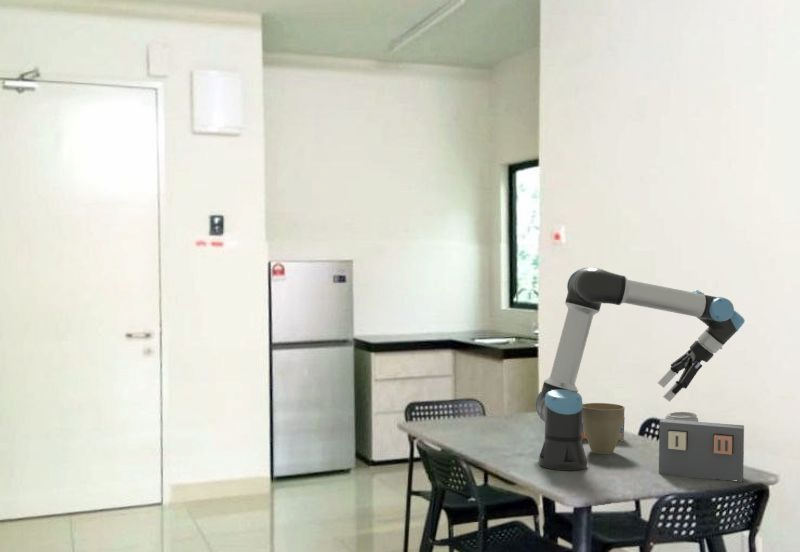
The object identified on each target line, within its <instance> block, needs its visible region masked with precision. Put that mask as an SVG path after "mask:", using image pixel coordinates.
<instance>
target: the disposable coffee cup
mask: <svg viewBox="0 0 800 552" xmlns="http://www.w3.org/2000/svg"><path fill="white" fill-rule="evenodd" d="M697 416H698V415H697V414H696V413H694V412H688V411H678V412H677V411H674V412H669V413H667V414H666V416H665V418H664V419H671V420H684V421H696V422H699V417H697Z"/></svg>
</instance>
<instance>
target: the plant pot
mask: <svg viewBox="0 0 800 552" xmlns="http://www.w3.org/2000/svg"><path fill="white" fill-rule="evenodd" d="M625 408H626V407H625V406H624V405H622V404H621V405H620V404H616V403H609V402H608V403H605V402H590V403H589V402H588V403H583V408H582V420H583V425H584V429H585V433H586V437H587V443H588V445H589V449H590V451H591V452H592V453H593V454H599V455H611V454H614V452H615V449H616V447H617V443H618V442H619V441H618V438H619V434H620V430H621V426H622V422H623V416H624V417H625Z"/></svg>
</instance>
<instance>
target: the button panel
mask: <svg viewBox="0 0 800 552" xmlns="http://www.w3.org/2000/svg"><path fill="white" fill-rule="evenodd" d="M658 428H659V434H658V435H659V439H658V446H659V447H658V474H660V473H661V474H662V475H671V476H680V477H689V478H699V479H707V478H708V480H716V479H721V480H720V481H725V480H737V481H743V482H744V463H745V462H744V461H745V460H744V457H745V456H744V454H745V447H744V446H745V425H743V424H730V423H719V422H706V421H698V422H696V421H684V420H671V419H665V418H661V419H660V421H659V427H658ZM669 431H680V432H687V443H686V450H677V449H668V432H669ZM714 435H726V436H732V455H730V454H719V453H714ZM661 474H660V475H661Z"/></svg>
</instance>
